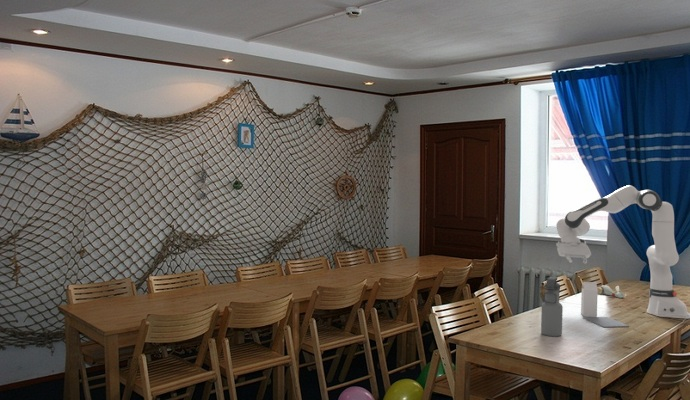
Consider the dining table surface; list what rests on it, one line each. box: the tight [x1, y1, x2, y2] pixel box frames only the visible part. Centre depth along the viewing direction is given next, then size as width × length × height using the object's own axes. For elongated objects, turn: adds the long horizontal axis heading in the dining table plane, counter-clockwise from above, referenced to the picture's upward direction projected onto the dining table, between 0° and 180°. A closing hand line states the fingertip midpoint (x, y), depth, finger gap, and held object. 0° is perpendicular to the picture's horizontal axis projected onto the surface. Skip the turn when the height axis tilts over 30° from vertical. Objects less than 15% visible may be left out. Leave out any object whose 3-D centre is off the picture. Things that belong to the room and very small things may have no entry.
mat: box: [582, 316, 630, 329], centre depth 321 cm, size 20×14×1 cm
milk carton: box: [580, 281, 599, 317], centre depth 336 cm, size 7×7×19 cm
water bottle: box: [540, 276, 564, 337], centre depth 295 cm, size 10×10×28 cm
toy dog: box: [597, 280, 627, 299], centre depth 395 cm, size 12×19×9 cm, turn 45°
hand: (578, 262), depth 347 cm, fingers open, 8 cm apart
